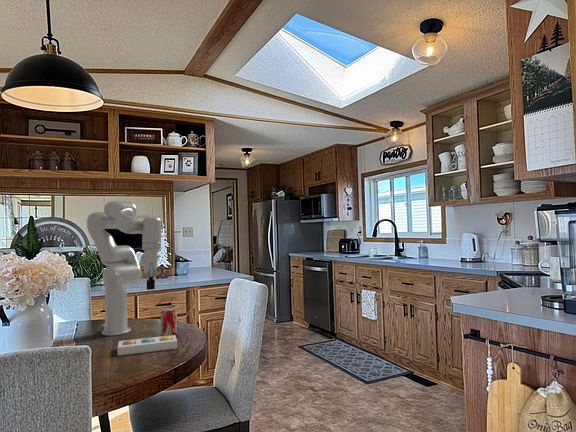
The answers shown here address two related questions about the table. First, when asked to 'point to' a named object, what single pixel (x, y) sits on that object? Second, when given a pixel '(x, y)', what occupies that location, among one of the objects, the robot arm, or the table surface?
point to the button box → (147, 345)
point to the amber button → (165, 338)
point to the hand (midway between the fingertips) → (150, 289)
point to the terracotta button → (129, 342)
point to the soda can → (168, 322)
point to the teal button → (147, 340)
